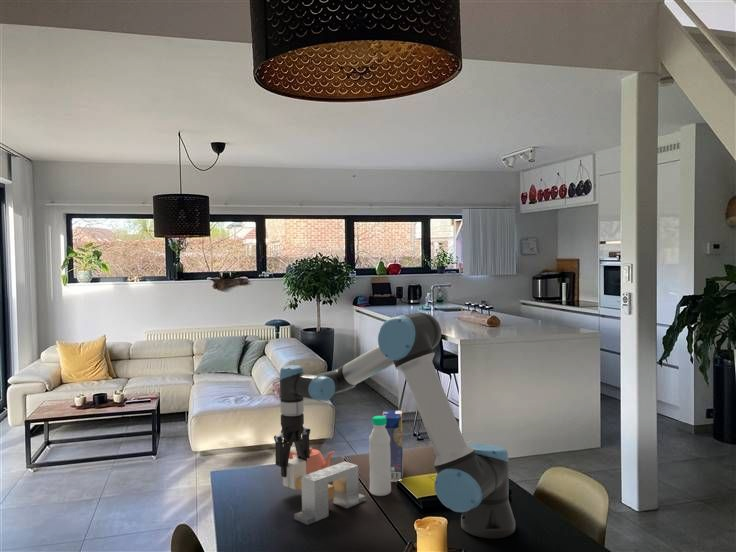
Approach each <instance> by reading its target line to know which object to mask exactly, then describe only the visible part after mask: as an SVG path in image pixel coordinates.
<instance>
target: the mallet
mask: <svg viewBox="0 0 736 552" xmlns="http://www.w3.org/2000/svg"><path fill="white" fill-rule="evenodd" d="M288 467H290V487H288V488H290V489H292V490H300V491H302V482H301V476H304V475H306V461H305V460H302V459H299V458H296V457H293V459H289V460H288ZM333 498H334V486H333V484H330V483H328V501H330V500H332V499H333Z"/></svg>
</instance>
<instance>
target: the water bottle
mask: <svg viewBox="0 0 736 552" xmlns="http://www.w3.org/2000/svg"><path fill="white" fill-rule="evenodd" d="M386 423H387V420H386V417H384V416H382V415H375V416H373V417H372V418H371V424H372V426H373V428H372V430H371V433H370V434H369V437H368V442H369V446H368V447H369V450H368V460H369V462H368V463H369V464H368V465H369V492H370V493H371V495H373V496H376V497H384V496H388V495H389V494H391V492H392V486H391V485H392V482H390V480H391V472H390V464H391V454H390V436H389V434H388V432H387V430H386V428H385V426H386Z"/></svg>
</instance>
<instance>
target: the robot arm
mask: <svg viewBox="0 0 736 552" xmlns="http://www.w3.org/2000/svg"><path fill="white" fill-rule="evenodd" d="M379 329H380V330H379V331H378V334H377V344H378V345H376V346H375V347H373V348H371V349H370V350H367V351H366V352H364V353H363V354H360V355H359V356H357V357H356V358H354V359H352V360H351V361H349V362H347V363H345V364H344V365H342V366H339V367H338V368H336V369H333V370H331V371H330V370H329V371H326V372H322V373H317V374H311V373H310V374H307V373H305V372H304V367H302V365H300V364H299V365H297V364H295V365H294V364H290V365H289V364H288V365H284V366H282V367H281V368H280V372H279V390H280V391H279V393H280V395H279V396H280V398H279V400H280V413H281V414H280V426H281V430H280V433H279V434H278V435H276V434H275V435H274V436H273V439H274V442H275V444H274V447H275V450H274V453H275V466H277V467H280V475H281V477H282V486H284V487H285V488H289V487H290V467H288V460H290V459H289V455H290V451H291V449H292V446H293V443H294V447H295V452H297V455H296V456H298V458H299V459H302V460H305V461H306V462H307V458H309V457H310V447H311V446H310V434H311V428H308V427H304V424H305V415H304V412H305V411H304V410H305V409H304V408H305V407H304V404H305V403H304V399H310V400H314V401H318V402H319V401H325V402H326V401H329V400H330V399H331V398H332V397H333V396H334V395H335V394H338V393H341V392H347V391H350V390H351V389H353V388H355V387H356V385H357V384H360V383H362V382H364V380H365V381H366V380H367V379H369V378H371V377H372V376H375V375H377V374H378V373H381V372H382V371H384V370H386V369H388V368H389V367H390V368H391V366H393V365H394V367H395V369H396V370H397V371H399V372H402V373H403V375H404V377H405V379H406V383H407V385H408V388H409V390H410V392H411V395H412V397H413V400H414V403H415V406H416V408H417V411H418V413H419V416H420V418H421V421H422V423H423V425H424V428H425V431H426V433H427V436H428V438H429V442H430V443H431V446H432V448H433V450H434V454H435V455H436V456H435V457H436V458H435V459H434V463H433V466H434V470H435V472H436V473H437V476H435V481H434V492H435V494H436V496H437V498H438V499H439V501H440V502H441V504H442V505H443V506H445V507H446V508H447V509H449V510H452V511H453V512H456V513H461V516H460V526H461V529H462V530H463V531H464V532H465V533H467V534H469V535H470V536H475V537H476V538H477V537H478V538H483V539H502V538H506V537H509V536H511V535H513V534H514V532H516V519H515V517H514V514H513V510H512V507H511V504H510V500H509V499H510V498H509V497H510V496H509V495H510V494H509V489H510V488H509V487H510V486H509V481H510V480H509V476H510V475H509V462H510V460H509V453H508V450H507V449H506V448H505V447H502V446H499V445H495V444H489V443H472V444H471V443H470V444H468V445H467V444H466V441H465V438H464V436H463V433H462V431H461V429H460V427H459V424H458V422H457V419H456V416H455V414H454V412H453V409H452V406H451V404H450V402H449V399H448V397H447V395H446V391H445V389H444V387H443V384H442V382H441V380H440V377H439V375H438V372H437V370H436V368H435V365H434V362H433V359H434V357H435V354H436V353H435V351H434V349H435V348H436V347H437V346H438V345H439V343H440V341H441V337H442V329H441V325H440V323H439V321H438V320H437V319H436V318H435V317H434V316H432V315H431V314H428V313H426V312H416V313H411V314H399V315H396V316H393V317H390V318H389V319H387V320H385V321H384V322H383V324H382V325H381V327H380V328H379Z"/></svg>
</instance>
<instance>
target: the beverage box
mask: <svg viewBox="0 0 736 552" xmlns="http://www.w3.org/2000/svg"><path fill="white" fill-rule="evenodd" d="M381 416H384V417H386V420H387V423H386V426H385V428H386V430H387V432H388V434H389V436H390V454H391V464H390V472H391V480H390V482H391V483H393V482H394V483H398V482H397V481H398V480H399V479H402V480H403V478H402V477H404V476H403V475H404V441H403V440H404V437H403V434H404V431H403V410H394V409H393V410H389V409H388V410H386V409H385V410H383V411H382V415H381Z"/></svg>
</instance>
